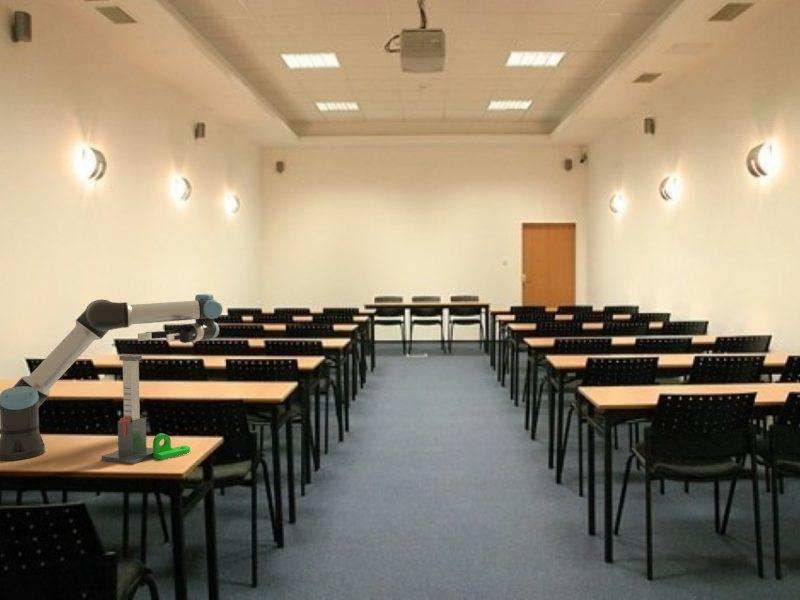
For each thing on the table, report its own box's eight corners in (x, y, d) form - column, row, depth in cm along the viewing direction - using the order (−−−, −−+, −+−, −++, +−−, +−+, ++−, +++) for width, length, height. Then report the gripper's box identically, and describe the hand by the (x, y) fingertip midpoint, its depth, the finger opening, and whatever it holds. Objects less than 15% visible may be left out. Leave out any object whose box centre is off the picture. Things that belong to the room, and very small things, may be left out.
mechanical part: (161, 460, 216) (161, 437, 215) (153, 457, 220) (152, 435, 219) (193, 453, 225) (193, 431, 224) (185, 450, 229) (184, 428, 228)
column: (120, 434, 219) (118, 355, 218) (128, 432, 223) (126, 354, 222) (136, 436, 217) (134, 356, 216) (143, 433, 220) (142, 355, 219)
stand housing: (101, 460, 216) (100, 419, 215) (131, 449, 229) (130, 411, 229) (133, 464, 211) (132, 422, 211) (162, 453, 224) (162, 413, 224)
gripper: (215, 343, 253) (180, 348, 233) (165, 341, 262) (127, 346, 242) (215, 324, 253) (179, 328, 233) (165, 323, 261) (126, 327, 242)
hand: (152, 337), depth 237 cm, fingers open, 13 cm apart
